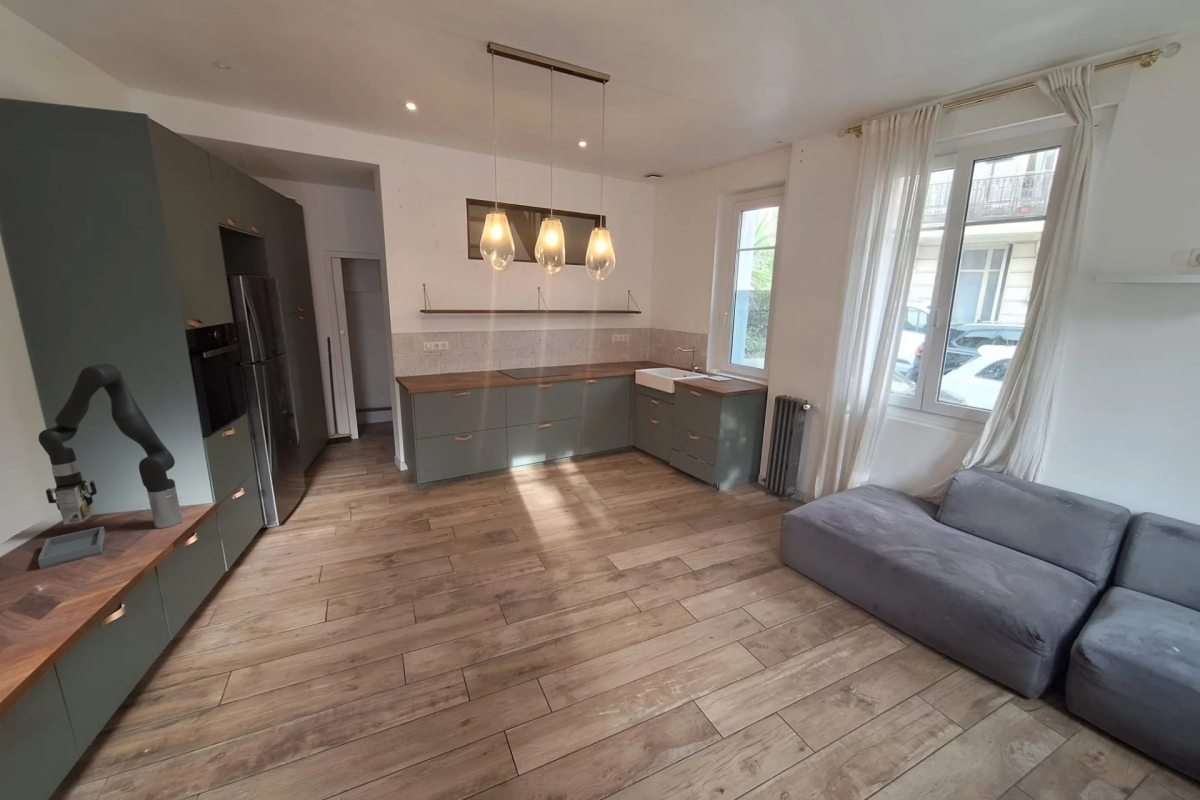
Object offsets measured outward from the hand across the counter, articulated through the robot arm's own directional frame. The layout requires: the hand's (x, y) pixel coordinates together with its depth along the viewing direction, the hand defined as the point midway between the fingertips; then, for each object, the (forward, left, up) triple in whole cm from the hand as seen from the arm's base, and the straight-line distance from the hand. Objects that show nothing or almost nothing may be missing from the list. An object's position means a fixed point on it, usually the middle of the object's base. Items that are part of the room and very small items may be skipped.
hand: (76, 507), depth 199 cm
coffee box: (0, 0, -6) cm, 6 cm away
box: (0, +22, -11) cm, 24 cm away
